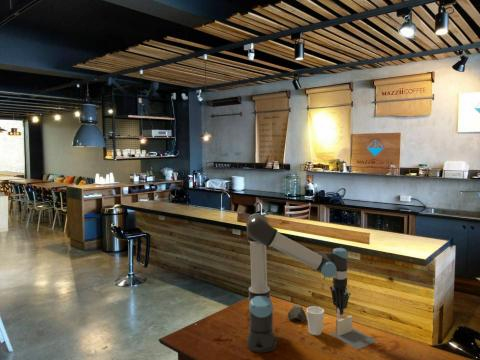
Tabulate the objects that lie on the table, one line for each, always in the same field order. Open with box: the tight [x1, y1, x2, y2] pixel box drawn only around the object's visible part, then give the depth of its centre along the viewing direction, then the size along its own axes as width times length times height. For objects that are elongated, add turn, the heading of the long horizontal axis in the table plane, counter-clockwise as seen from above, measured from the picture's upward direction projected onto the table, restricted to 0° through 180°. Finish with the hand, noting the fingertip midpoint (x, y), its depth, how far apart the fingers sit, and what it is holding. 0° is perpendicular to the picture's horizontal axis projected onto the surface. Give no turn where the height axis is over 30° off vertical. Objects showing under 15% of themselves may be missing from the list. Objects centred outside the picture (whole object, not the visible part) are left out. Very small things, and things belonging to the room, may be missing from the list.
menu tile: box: [335, 314, 354, 336], centre depth 200 cm, size 10×2×8 cm, turn 121°
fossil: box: [287, 303, 308, 322], centre depth 219 cm, size 11×9×10 cm
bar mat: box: [330, 327, 378, 350], centre depth 195 cm, size 15×18×1 cm
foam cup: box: [305, 306, 325, 336], centre depth 200 cm, size 10×9×13 cm
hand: (339, 319), depth 203 cm, fingers closed
